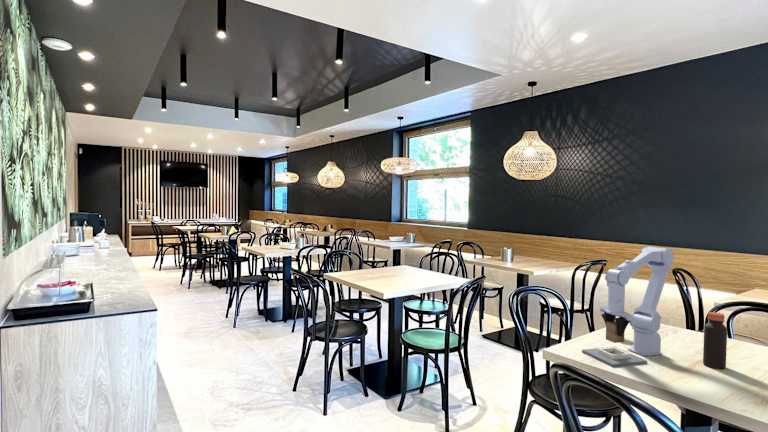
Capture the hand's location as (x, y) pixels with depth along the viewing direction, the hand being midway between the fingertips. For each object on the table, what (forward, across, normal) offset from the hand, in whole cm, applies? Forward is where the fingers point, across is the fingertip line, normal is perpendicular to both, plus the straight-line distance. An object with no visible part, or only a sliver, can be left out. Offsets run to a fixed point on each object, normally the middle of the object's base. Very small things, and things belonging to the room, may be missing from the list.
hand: (615, 333), depth 163 cm
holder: (+10, 0, 0) cm, 10 cm away
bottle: (+10, +16, +31) cm, 36 cm away
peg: (+3, 0, 0) cm, 3 cm away
